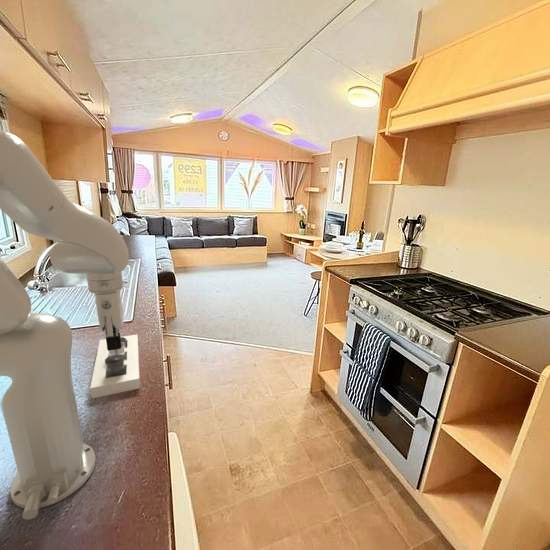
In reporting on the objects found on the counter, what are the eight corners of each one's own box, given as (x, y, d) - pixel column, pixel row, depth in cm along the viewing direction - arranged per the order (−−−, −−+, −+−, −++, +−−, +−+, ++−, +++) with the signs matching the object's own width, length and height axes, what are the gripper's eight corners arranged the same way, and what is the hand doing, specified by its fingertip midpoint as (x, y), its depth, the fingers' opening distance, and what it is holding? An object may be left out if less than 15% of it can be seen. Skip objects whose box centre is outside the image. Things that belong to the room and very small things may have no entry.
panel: (140, 388, 80) (139, 378, 79) (91, 398, 75) (90, 388, 74) (138, 342, 102) (137, 334, 101) (101, 348, 98) (99, 339, 97)
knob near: (125, 374, 80) (124, 361, 79) (106, 378, 78) (104, 365, 77) (126, 365, 84) (124, 352, 83) (107, 369, 82) (105, 356, 81)
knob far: (127, 354, 94) (126, 342, 93) (110, 357, 92) (109, 345, 91) (127, 347, 98) (126, 336, 97) (111, 349, 96) (110, 338, 95)
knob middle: (126, 360, 87) (124, 347, 86) (108, 363, 85) (106, 350, 84) (126, 352, 91) (125, 340, 90) (109, 355, 89) (107, 343, 88)
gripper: (121, 291, 70) (130, 360, 75) (123, 272, 83) (130, 332, 88) (83, 295, 67) (95, 367, 72) (91, 275, 79) (100, 337, 85)
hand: (114, 348), depth 80 cm, fingers closed
